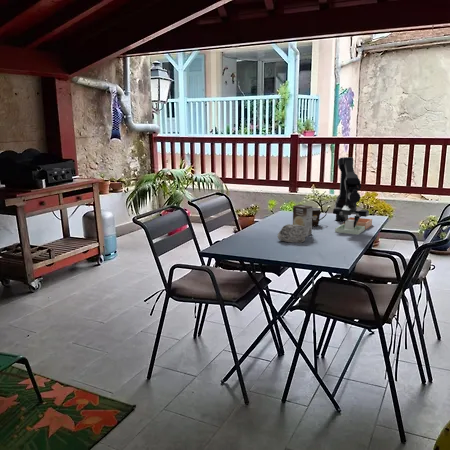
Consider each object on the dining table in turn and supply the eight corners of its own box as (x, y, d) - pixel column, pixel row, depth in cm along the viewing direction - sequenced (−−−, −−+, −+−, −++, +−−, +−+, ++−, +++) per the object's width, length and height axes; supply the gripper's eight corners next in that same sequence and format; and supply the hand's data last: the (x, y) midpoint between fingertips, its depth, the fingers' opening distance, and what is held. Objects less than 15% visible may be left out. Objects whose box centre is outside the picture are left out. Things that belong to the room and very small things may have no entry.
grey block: (344, 228, 257) (345, 220, 256) (347, 227, 261) (347, 219, 260) (352, 229, 255) (353, 221, 254) (355, 227, 258) (355, 220, 257)
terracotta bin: (343, 227, 268) (343, 220, 267) (350, 223, 278) (350, 217, 277) (365, 230, 261) (366, 223, 260) (371, 225, 271) (372, 219, 270)
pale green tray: (335, 232, 257) (335, 228, 256) (342, 228, 267) (342, 224, 266) (358, 235, 250) (358, 231, 249) (364, 230, 260) (364, 226, 259)
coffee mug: (304, 226, 274) (304, 209, 272) (307, 223, 282) (307, 207, 279) (323, 227, 269) (324, 210, 267) (326, 224, 277) (327, 208, 275)
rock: (311, 240, 241) (308, 221, 240) (305, 243, 234) (302, 224, 233) (283, 242, 249) (280, 224, 248) (277, 245, 242) (274, 226, 241)
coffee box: (291, 234, 256) (292, 206, 252) (298, 232, 260) (298, 204, 257) (306, 237, 250) (306, 207, 246) (312, 234, 254) (313, 206, 251)
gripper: (329, 200, 253) (329, 228, 256) (363, 203, 243) (362, 232, 246) (336, 197, 262) (336, 224, 265) (369, 199, 252) (368, 227, 255)
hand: (350, 227), depth 258 cm, fingers closed on grey block, 4 cm apart
